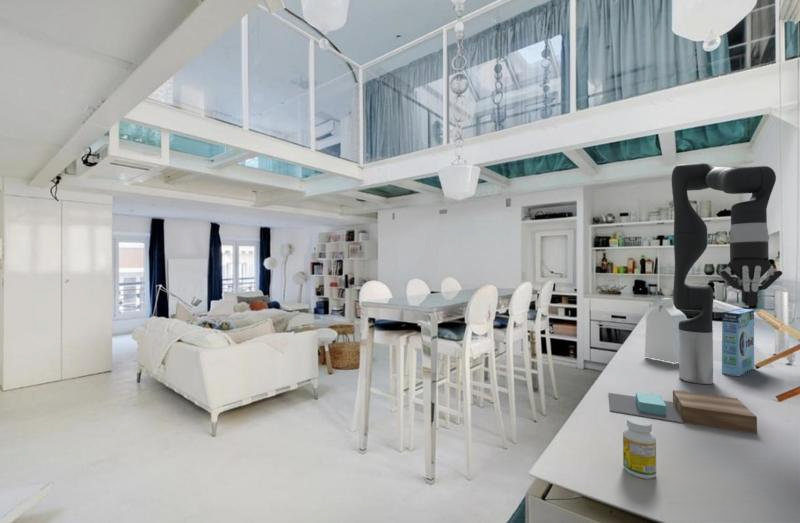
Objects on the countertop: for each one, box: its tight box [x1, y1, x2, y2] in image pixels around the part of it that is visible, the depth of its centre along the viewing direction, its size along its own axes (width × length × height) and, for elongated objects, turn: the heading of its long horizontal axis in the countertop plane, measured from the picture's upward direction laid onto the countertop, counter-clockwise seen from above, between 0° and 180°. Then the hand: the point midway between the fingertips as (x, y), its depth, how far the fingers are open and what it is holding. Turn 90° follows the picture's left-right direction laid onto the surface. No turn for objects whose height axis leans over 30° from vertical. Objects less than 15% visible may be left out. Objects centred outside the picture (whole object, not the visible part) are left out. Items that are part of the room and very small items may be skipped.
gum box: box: [721, 308, 755, 377], centre depth 139 cm, size 20×5×23 cm, turn 123°
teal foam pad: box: [635, 391, 666, 415], centre depth 102 cm, size 9×6×2 cm, turn 152°
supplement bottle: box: [622, 416, 657, 480], centre depth 71 cm, size 5×5×10 cm
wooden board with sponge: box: [672, 389, 758, 435], centre depth 96 cm, size 14×14×4 cm
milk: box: [644, 297, 688, 363], centre depth 156 cm, size 12×12×26 cm
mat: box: [608, 392, 685, 424], centre depth 103 cm, size 16×16×1 cm
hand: (749, 305), depth 99 cm, fingers closed
